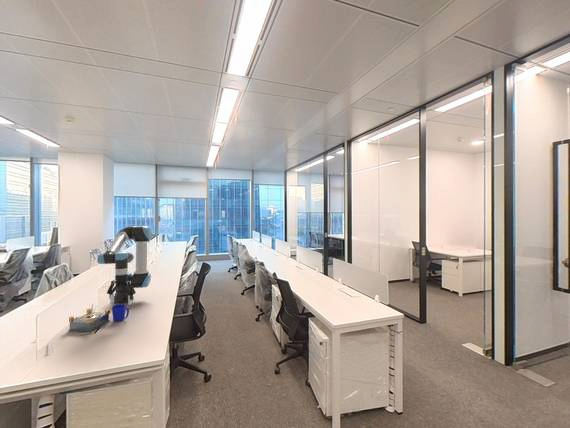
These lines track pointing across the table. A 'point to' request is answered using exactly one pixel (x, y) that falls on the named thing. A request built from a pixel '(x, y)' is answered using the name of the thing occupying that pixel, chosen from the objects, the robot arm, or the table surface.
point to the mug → (119, 312)
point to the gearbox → (89, 321)
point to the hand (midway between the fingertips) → (121, 303)
